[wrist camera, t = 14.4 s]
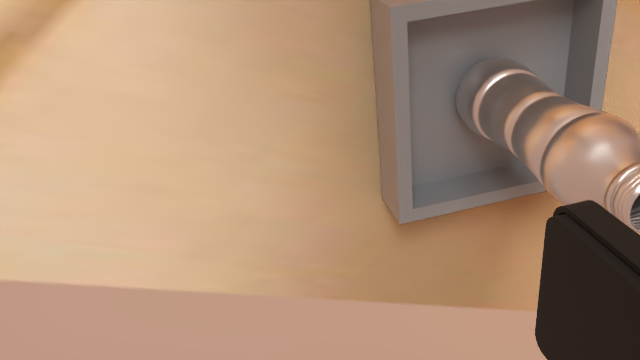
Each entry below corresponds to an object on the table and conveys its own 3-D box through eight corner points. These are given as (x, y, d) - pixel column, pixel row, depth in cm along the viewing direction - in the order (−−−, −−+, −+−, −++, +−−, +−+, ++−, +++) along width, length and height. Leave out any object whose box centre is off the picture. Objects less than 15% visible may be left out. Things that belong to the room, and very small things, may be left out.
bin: (369, -5, 44) (390, 7, 41) (583, -40, 47) (621, -32, 43) (382, 198, 53) (399, 224, 49) (561, 159, 56) (591, 180, 52)
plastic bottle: (498, 132, 52) (668, 263, 35) (433, 114, 49) (581, 245, 32) (532, 63, 49) (733, 167, 32) (466, 40, 47) (644, 139, 30)
